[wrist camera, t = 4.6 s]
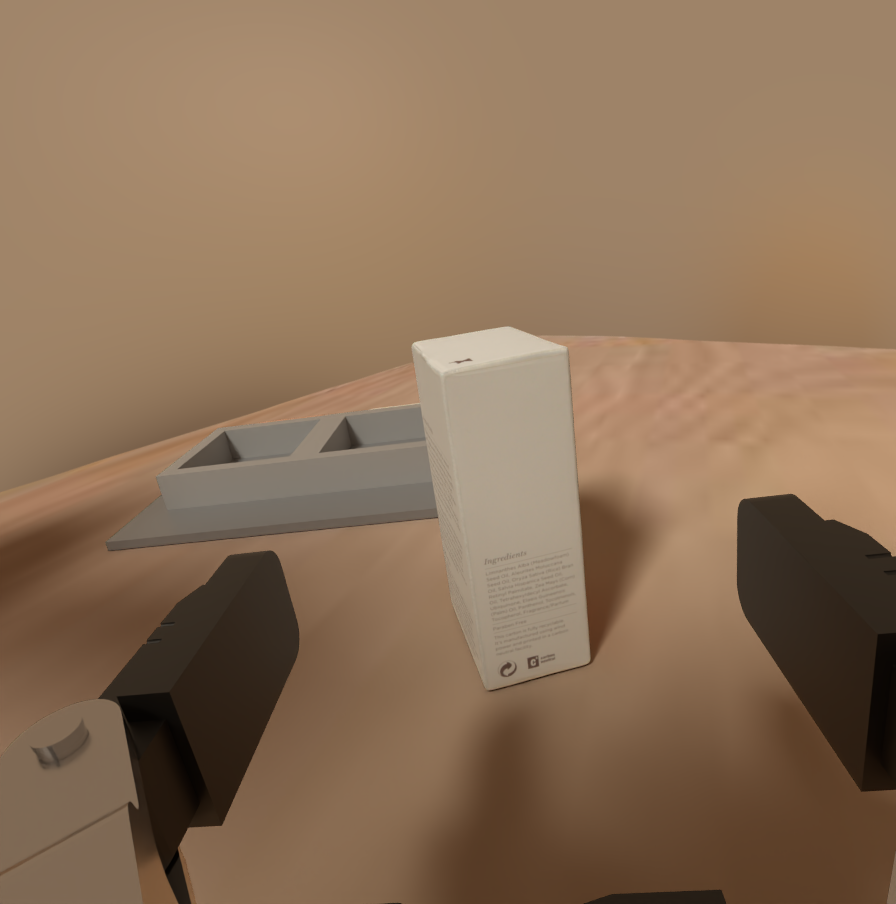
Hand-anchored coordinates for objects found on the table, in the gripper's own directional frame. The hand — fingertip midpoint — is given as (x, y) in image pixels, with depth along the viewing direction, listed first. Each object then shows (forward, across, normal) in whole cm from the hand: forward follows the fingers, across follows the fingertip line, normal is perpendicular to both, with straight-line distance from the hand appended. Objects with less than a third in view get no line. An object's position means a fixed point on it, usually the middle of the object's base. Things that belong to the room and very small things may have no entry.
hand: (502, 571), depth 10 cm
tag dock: (+32, +14, +10) cm, 36 cm away
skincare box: (+12, 0, +10) cm, 15 cm away
